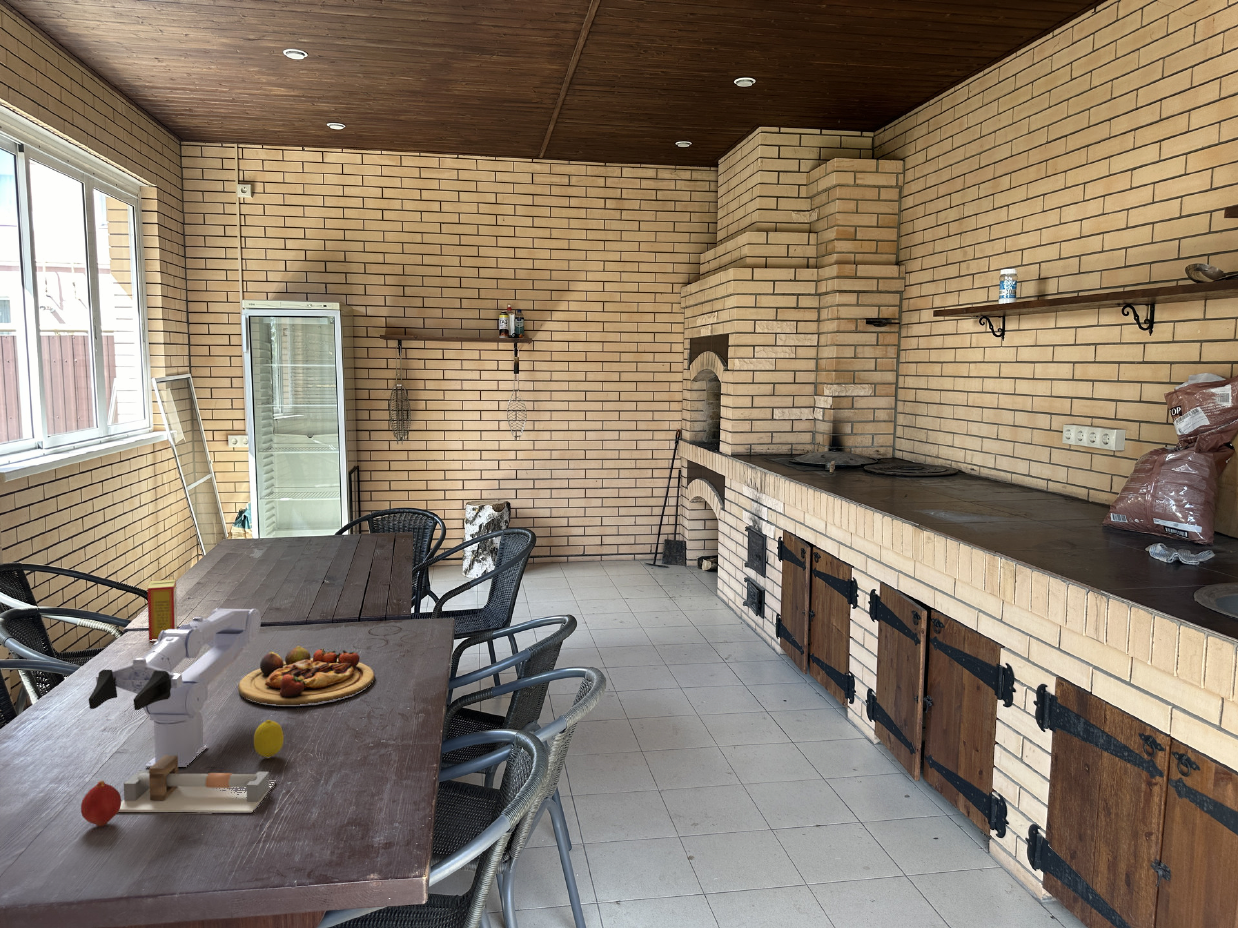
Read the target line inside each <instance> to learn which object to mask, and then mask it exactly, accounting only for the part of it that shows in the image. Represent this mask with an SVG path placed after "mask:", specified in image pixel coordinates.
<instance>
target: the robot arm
mask: <svg viewBox="0 0 1238 928" xmlns="http://www.w3.org/2000/svg"><path fill="white" fill-rule="evenodd" d="M261 623H262V616H261V613H260V611H259V610H258V608H251V609H249V608H248V609H247V608H222V607H216V608H215V609H212V610H211V612H210V615H209V616H208V617H207V618H204V617H203V616H195V617H193V618H192V620H191V621H189V622H188V623H183V624H181V626H180V627H177V629H168V630H162V631H161V633H160V634H159V636H158V639H157V641H155V642H153V644H152V647H151V649H149V650H148V651H147V652H146V653H145V654H143V655H142V657H135V658H134V659H133V660H132V664H130V665H126V666H122V667H120V668H116V669H102V670H100V671H99V672H98V675H96V677H95V681H96V685H95V686H94V687H95V688H94V689H93V690H92V693H91V694H90V696H89V698H88V699H87V700H88V708H89V709H90V710H94V709H97V708H98V707H100V706H101V705H102V704H103V703H105V702H107V701H109V700H112V699H116V698H118V691H117V688H118V689H122V690H125V691H127V692H131V693H134V694H136V695H135V696H134V698H133V708H134V711H140V710H141V709H143V711H144V713H145V714H146V715H148V716H149V720H150V721H153V731H154V732H153V733H154V737H153V739H154V757H153V758H152V759H151V760H149V761H148V762H147V763H146V764H145V768H149V767H151V766H153V765H154V764H155V763H156V762H157V761H158V760H160V759H161V758H162V757H163V756H164V755H178V767H186V766H187V765H189V763H191V761H192V760H193V759H194V758H193V757H196V756H198V755H197V754H200V753H196V752H198V750H199V749H200V748H201V747H205V748H206V747H207V746H206V745H207V744H204V720H203V715H202V713H201V710H202V709H203V706H204V704H205V702H207V701H208V698H209V689H208V688H209V685H210V684H211V683H213V681H215V680H216V678H218V677H219V676H220V675H221V674H222V673H223V672H224V671H225V670H227V668H228V667H230V666H231V665H232V664H233V663H234V662H235V661H236V659H237V658H238V657H239V655H240V654H241V653H242V651H243V650H244V649H245V647H247V646H249V644H251V643H252V642H253V641H254V640H256V638H257V637H258V635H259V632H260V628H261ZM205 646H208V647H210V649H209V650H208V651H207V652H205V653H204V654H203V655H202V656H200V657H199V658H198V659H197V657H198V656H199V653H200V651H201V649H202V648H203V647H205ZM195 658H196V659H197V660H196V661H195V662H193V663H191V665H190V666H188V667H187V668H186V669H184V671H183V672H181V673H176V672H173V671H174V670H175V669H176V668H177V667H178V666H179V665H180V664H181V663H182V662H184V660H186V659H189V660H190V659H195ZM203 745H205V746H203ZM202 750H204V749H202ZM201 752H202V751H201ZM200 755H201V754H200ZM198 757H199V756H198ZM191 764H192V763H191ZM189 766H190V765H189ZM186 768H187V767H186Z"/></svg>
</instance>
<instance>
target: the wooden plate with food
mask: <svg viewBox="0 0 1238 928" xmlns="http://www.w3.org/2000/svg"><path fill="white" fill-rule="evenodd" d="M336 652H337V651H336V650H332V651H325V648H323V647H322V648H319V649H317V650H316V651H315V652H314V653H313V655H312V657H311V653H310V652H309V650H308V649H306V648H304V647H302V646H300V645H298V646H296V647H294V648H292V649H291V650H289V651H288V652H287V654H286V656H285V658H284V660H283V658H282V657H281V656H280V655H279V654H278V653H276V652H274V651H270V652H268V653H266V654H265V655H264V656H263V657H262V659H260V660H261V661H260V664H259V668H258V669H256V670H253V671H251V672H249V673H248V674H246V675H245V676H244V677H243V678H242V679H240V680H239V683H238V685H237V687H238V688H237V690H239V691H238V694H241V695H242V696H243V697H244V699H245V698H247V699H250V700H252V701H256V702H259V703H267V704H276V705H300V704H308V703H318V702H322V701H329V700H333V699H338V698H343V697H345V696H349V695H352V694H355V693H356V692H359V691H361V690H363V689H364V688H366V687H368V686H369V685H370V684H371V683H372V681H373V680H374V681H375V678H374V677H375V673H374V670H373V669H372V668H371V667H370V666H368V665H366V664H364V663H362V662H360V655H359V654H358V652H356V651H351V652H347V651H346V650H344V649H343V650H342V653H341V652H338V654H337V653H336ZM359 672H360V673H359ZM360 674H361V675H360ZM372 684H373V683H372ZM241 695H240V696H241ZM242 696H241V697H242ZM243 697H242V698H243ZM247 699H246V700H247Z"/></svg>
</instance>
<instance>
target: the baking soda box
mask: <svg viewBox="0 0 1238 928" xmlns="http://www.w3.org/2000/svg"><path fill="white" fill-rule="evenodd" d="M177 605H178V604H177V579H164V580H163V579H162V580H161V579H160V580H159V579H158V580H150V581H149V584H148V587H147V612H148V613H147V618H148V619H147V620H148V622H147V623H148V641H149V640H152V639H158V636H159V634H160V633H161V631H162V630H168V629H178V610H177V609H178V608H177Z"/></svg>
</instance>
